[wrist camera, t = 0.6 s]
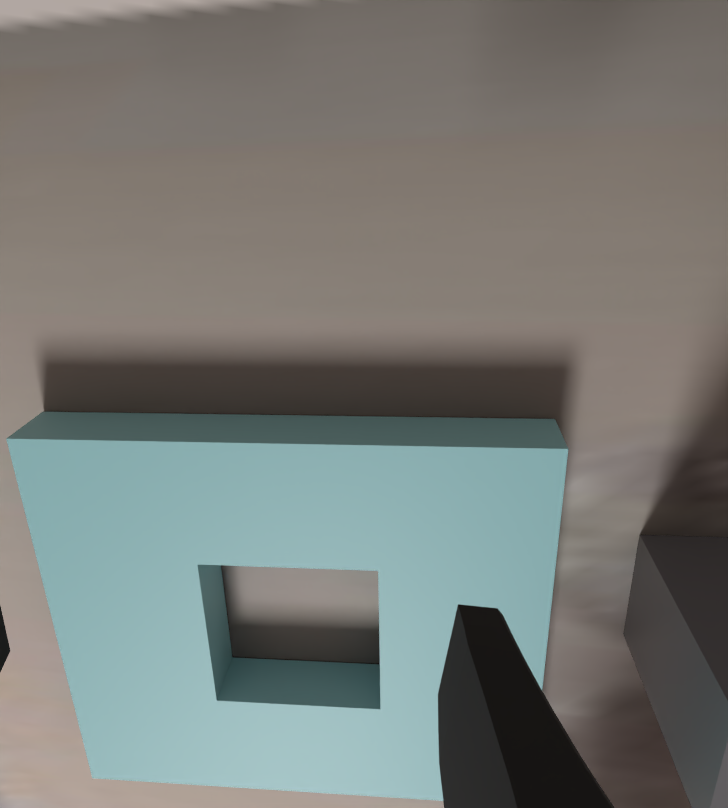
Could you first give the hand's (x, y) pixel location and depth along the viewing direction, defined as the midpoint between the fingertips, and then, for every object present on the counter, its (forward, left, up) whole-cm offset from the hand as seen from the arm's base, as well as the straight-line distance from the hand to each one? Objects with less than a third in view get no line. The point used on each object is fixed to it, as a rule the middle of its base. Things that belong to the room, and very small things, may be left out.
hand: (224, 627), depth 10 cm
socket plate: (-8, +1, -10) cm, 13 cm away
